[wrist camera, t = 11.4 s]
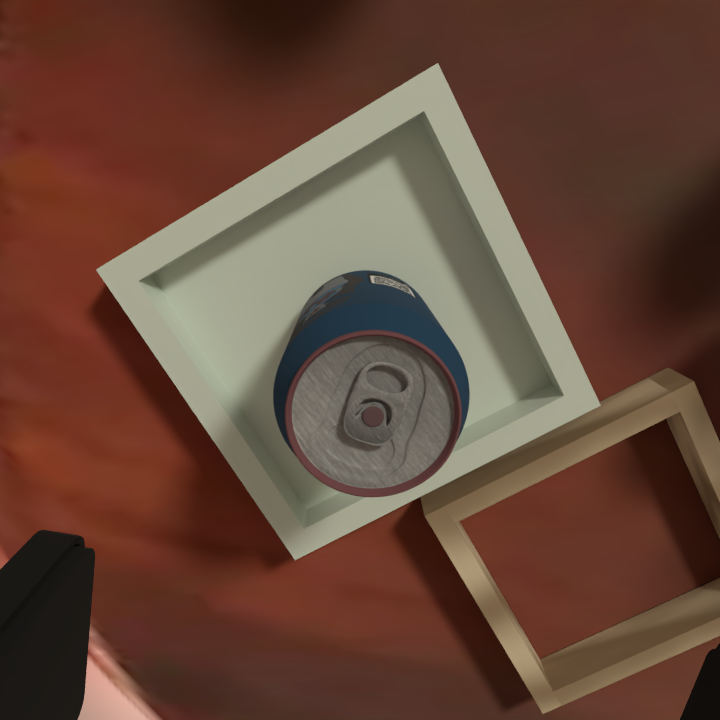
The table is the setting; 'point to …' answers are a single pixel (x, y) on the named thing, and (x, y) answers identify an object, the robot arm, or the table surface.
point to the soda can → (370, 387)
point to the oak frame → (548, 456)
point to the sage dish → (343, 255)
